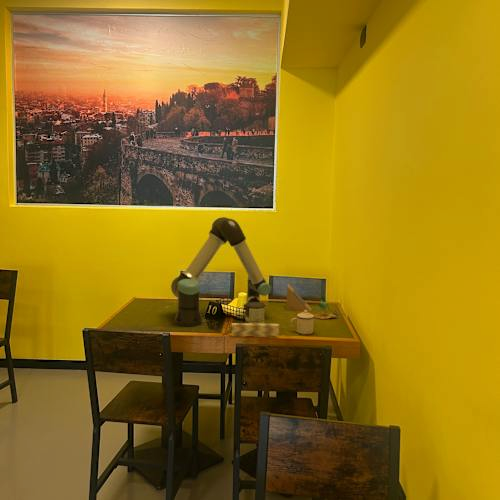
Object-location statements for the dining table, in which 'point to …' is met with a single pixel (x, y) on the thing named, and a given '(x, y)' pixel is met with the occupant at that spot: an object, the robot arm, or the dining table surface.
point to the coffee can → (255, 312)
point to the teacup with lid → (304, 322)
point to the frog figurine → (324, 305)
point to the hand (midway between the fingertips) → (255, 314)
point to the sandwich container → (295, 301)
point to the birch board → (255, 329)
